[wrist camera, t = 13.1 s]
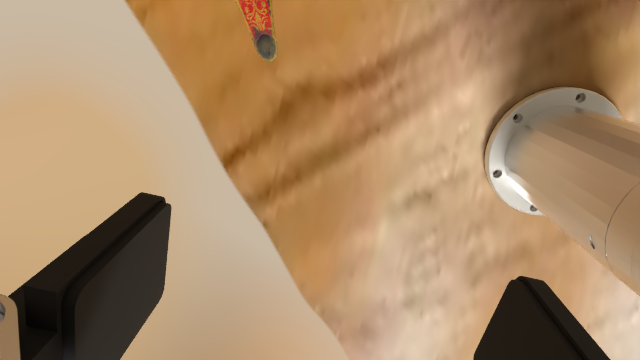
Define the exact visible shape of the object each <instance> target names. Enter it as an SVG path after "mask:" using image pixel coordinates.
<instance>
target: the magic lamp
mask: <svg viewBox="0 0 640 360" xmlns="http://www.w3.org/2000/svg"><path fill="white" fill-rule="evenodd" d="M236 2H237V4H238V6H239V8H240V10H241V13H242V15H243V17H244V19H245V22H246V24H247V27H248V29H249V32H250V35H251V37H252V40H253V43H254V45H255V48H256V50H257V52H258V54H259V55H260V57H261V58H262V59H264V60H266V61H269V62H271V61H273V60H274V59H275V57H276V55H277V42H276V36H275V30H274V22H273V9H272V0H236Z"/></svg>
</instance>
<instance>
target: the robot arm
mask: <svg viewBox="0 0 640 360" xmlns="http://www.w3.org/2000/svg"><path fill="white" fill-rule="evenodd" d="M576 96H577V98H576ZM514 115H516V117H515V118H514V119H513V117H514ZM484 160H485V172H486V175H487V179H488V182H489V184H490V185H491V187H492V189H493V191H494V192H495V193H496V194H497V195H498V196H499V197H500V198H501V199H502V200H503V201H504V202H505V203H506V204H507V205H509V206H511V207H512V208H514V209H516V210H518V211H521V212H524V213H527V214H533V215H545V216H546V217H547V218H548V219H549V220H551V221H552V222H553V223H554V224H555V225H556V226H558V227H559V228H560V229H561V230H562V231H563V232H565V233H566V234H567V235H568V236H569V237H570V238H572V239H573V240H574V241H575V242H576V243H577V244H579V245H580V246H581V247H582V248H583V249H584V250H586V251H587V252H588V253H589V254H590V255H591V256H592V257H594V258H595V259H596V260H597V261H598V262H599V263H601V264H602V265H603V266H604V267H605V268H606V269H608V270H609V271H610V272H611V273H612V274H613V275H615V276H616V277H617V278H618V279H619V280H621V281H622V282H623V283H624V284H626V285H627V286H628V287H629V288H630V289H631V290H633V291H634V292H635V293H636V294H637V295H639V296H640V124H637V123H633V122H630V121H627V120H623V119H622V116H621V114H620V113H619V111H618V110H617V109H616V107H615V106H614V105H613V104H612V103H611V102H610V101H609V100H607V99H606V98H605V97H604V96H601V95H599V94H597V93H595V92H593V91H590V90H586V89H582V88H575V87H555V88H550V89H546V90H542V91H539V92H537V93H535V94H532V95H530V96H528V97H526V98H525V99H523V100H522V101H520V102H518V103H517V104H515V105H514V106H513V107H512V108H511V109H510V110H509V111H508V112H506V113H505V115H504V116H503V117H502V118H501V120H500V121H499V122H498V123H497V125H496V126H495V128H494V130H493V132H492V133H491V135H490V138H489V141H488V144H487V147H486V152H485V159H484ZM495 170H496V172H495V173H493V172H494V171H495ZM170 217H171V205H170V204H168V203H166V202H165V198H164V197H161V196H157V195H152V194H147V193H143V192H142V193H139V194H138V195H137V196H136V197H135V198H133V199H132V200H130V201H129V202H128V203H127V204H125V205H124V206H123V207H122V208H120V209H119V210H118V211H117V212H115V213H114V214H113V215H112V216H110V217H109V218H108V219H107V220H105V221H104V222H103V223H101V224H100V225H99V226H98V227H96V228H95V229H94V230H93V231H91V232H90V233H89V234H87V235H86V236H84V237H83V238H81V239H80V240H79V241H78V242H76V243H75V244H74V245H73V246H71V247H70V248H69V249H68V250H66V251H65V252H64V253H63V254H61V255H60V256H59V257H57V258H56V259H55V260H54V261H52V262H51V263H50V264H49V265H47V266H46V267H45V268H43V269H42V270H41V271H40V272H39V273H37V274H36V275H35V276H33V277H32V278H31V279H30V280H28V281H27V282H26V283H24V284H23V285H22V286H21V287H19V288H18V289H17V290H16V291H14V292H13V293H12V294H11V295H9V296H8V297H7V296H5V295H2V294H0V360H120V358H121V357H122V356H123V354H124V353H125V351H126V350H127V348H128V347H129V345H130V344H131V342H132V341H133V339H134V338H135V336H136V335H137V333H138V332H139V330H140V329H141V327H142V326H143V324H144V323H145V321H146V320H147V318H148V317H149V316H150V314H151V313H152V311H153V310H154V308H155V307H156V305H157V304H158V302H159V300H160V299H161V297H162V294H163V291H164V285H165V274H166V262H167V251H168V240H169V229H170ZM474 360H610V359H609V358H608V356H607V355H606V354H605V353H604V352H603V350H602V349H601V348H600V347H599V346H598V344H597V343H596V342H595V341H594V340H593V339H592V337H591V336H590V335H589V334H588V333H587V331H586V330H585V329H584V328H583V327H582V325H581V324H580V323H579V322H578V321H577V320H576V318H575V317H574V316H573V315H572V314H571V312H570V311H569V310H568V309H567V308H566V306H565V305H564V304H563V303H562V302H561V300H560V299H559V298H558V297H557V296H556V295H555V293H554V292H553V291H552V290H551V289H550V287H549V286H548V285H547V284H546V283H545V282H544V281H542V280H538V279H533V278H529V277H524V276H519V277H518V278H516V279H515V280H511V281H510V282H509V284H508V285H507V287H506V289H505V292H504V294H503V296H502V298H501V300H500V302H499V304H498V306H497V308H496V310H495V312H494V314H493V316H492V318H491V320H490V322H489V324H488V326H487V328H486V330H485V333H484V335H483V337H482V339H481V341H480V343H479V345H478V347H477V349H476V351H475V354H474Z"/></svg>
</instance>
